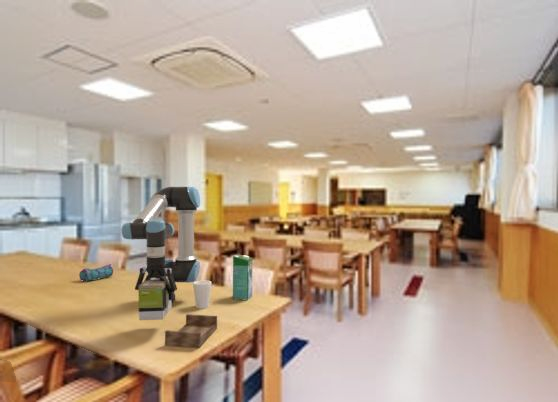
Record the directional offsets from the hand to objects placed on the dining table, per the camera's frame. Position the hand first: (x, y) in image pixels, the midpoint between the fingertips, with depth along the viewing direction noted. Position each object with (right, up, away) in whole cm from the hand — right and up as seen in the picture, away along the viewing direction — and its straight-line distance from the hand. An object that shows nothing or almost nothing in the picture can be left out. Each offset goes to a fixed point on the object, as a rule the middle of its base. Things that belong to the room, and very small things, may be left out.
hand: (156, 306), depth 143 cm
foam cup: (+12, -11, +34) cm, 38 cm away
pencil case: (-79, -11, +97) cm, 126 cm away
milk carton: (+32, -11, +51) cm, 61 cm away
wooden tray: (+17, -10, -6) cm, 21 cm away
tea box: (0, -3, 0) cm, 3 cm away
